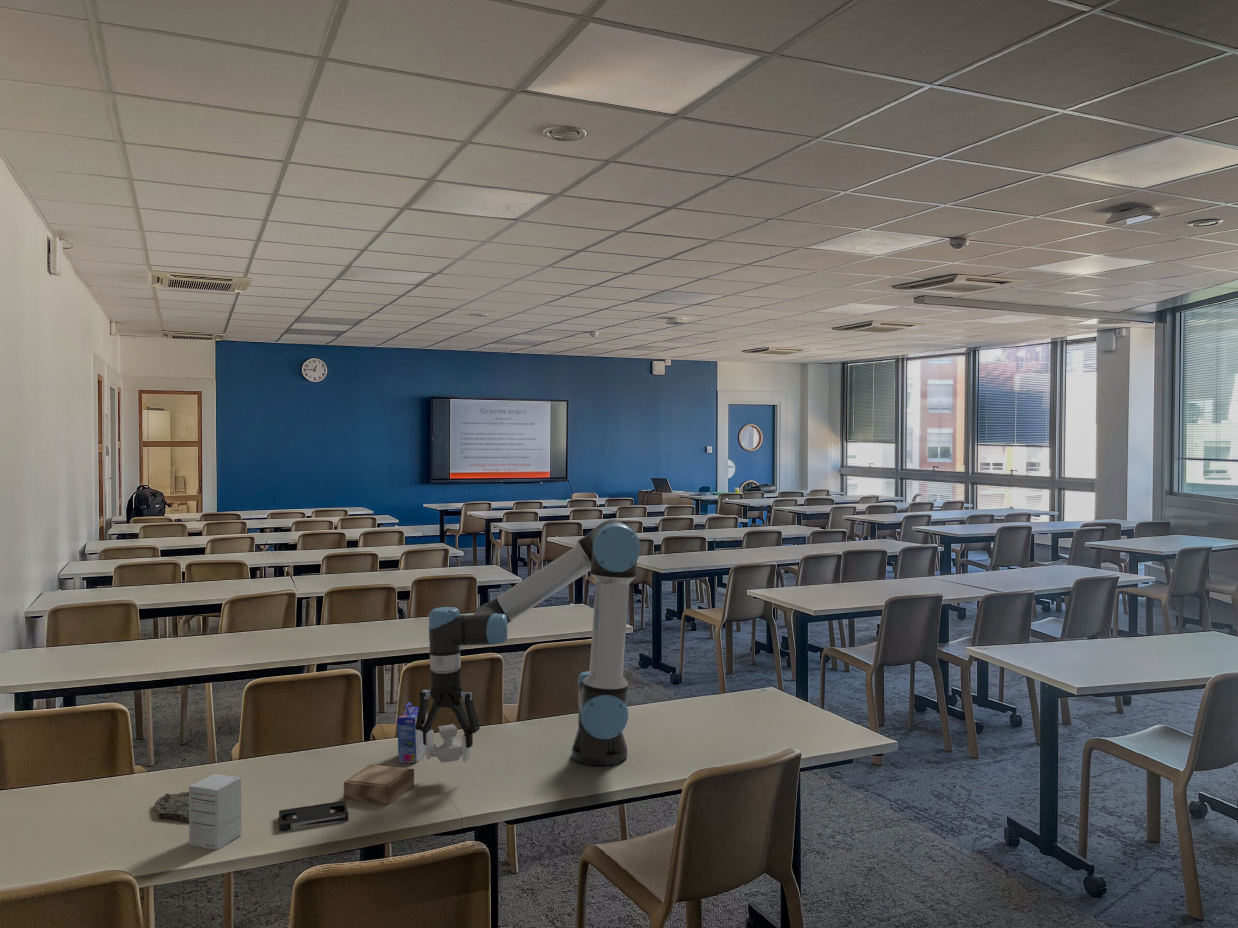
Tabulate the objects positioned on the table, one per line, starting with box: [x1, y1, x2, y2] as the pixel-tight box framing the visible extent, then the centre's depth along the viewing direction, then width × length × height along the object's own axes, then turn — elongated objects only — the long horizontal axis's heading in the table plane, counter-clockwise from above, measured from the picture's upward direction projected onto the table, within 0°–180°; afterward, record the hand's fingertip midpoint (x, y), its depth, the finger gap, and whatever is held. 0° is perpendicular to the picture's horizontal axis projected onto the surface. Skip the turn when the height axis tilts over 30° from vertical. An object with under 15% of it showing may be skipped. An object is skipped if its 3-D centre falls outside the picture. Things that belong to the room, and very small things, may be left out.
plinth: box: [343, 764, 415, 805], centre depth 203 cm, size 12×12×4 cm
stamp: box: [430, 723, 463, 764], centre depth 211 cm, size 9×7×8 cm
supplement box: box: [188, 773, 242, 851], centre depth 177 cm, size 7×7×13 cm
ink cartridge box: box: [396, 701, 428, 764], centre depth 228 cm, size 10×6×14 cm, turn 174°
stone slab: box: [152, 791, 189, 824], centre depth 193 cm, size 12×17×3 cm
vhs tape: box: [278, 800, 349, 833], centre depth 188 cm, size 14×8×2 cm, turn 113°
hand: (448, 758), depth 211 cm, fingers closed on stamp, 9 cm apart
